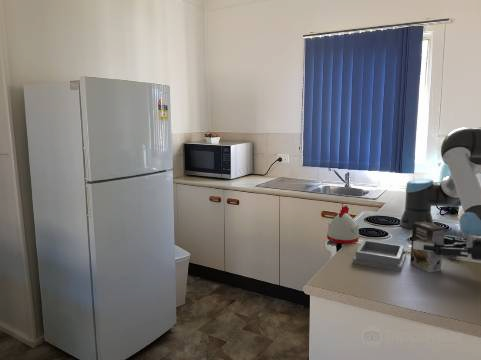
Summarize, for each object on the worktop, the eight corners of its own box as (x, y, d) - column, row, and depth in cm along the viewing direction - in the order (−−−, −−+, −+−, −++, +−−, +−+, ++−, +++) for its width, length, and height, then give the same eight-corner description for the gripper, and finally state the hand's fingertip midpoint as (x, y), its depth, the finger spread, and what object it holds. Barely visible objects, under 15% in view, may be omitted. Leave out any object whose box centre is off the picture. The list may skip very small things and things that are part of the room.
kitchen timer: (363, 237, 176) (365, 205, 174) (350, 245, 166) (351, 212, 164) (336, 231, 185) (337, 201, 183) (321, 239, 175) (322, 206, 173)
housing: (361, 249, 162) (362, 238, 161) (405, 256, 154) (406, 245, 153) (352, 263, 147) (353, 252, 146) (400, 271, 139) (401, 259, 138)
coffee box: (409, 263, 146) (412, 222, 143) (422, 261, 148) (425, 220, 145) (428, 273, 138) (432, 229, 135) (442, 270, 140) (445, 227, 137)
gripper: (486, 272, 124) (411, 260, 134) (482, 249, 143) (416, 240, 154) (489, 250, 122) (412, 239, 133) (484, 230, 142) (417, 222, 152)
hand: (414, 240), depth 143 cm, fingers closed on coffee box, 10 cm apart
